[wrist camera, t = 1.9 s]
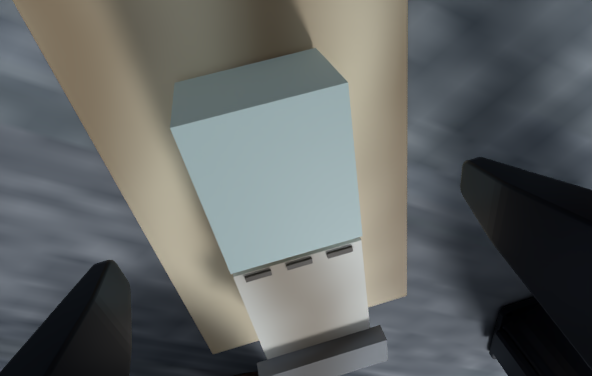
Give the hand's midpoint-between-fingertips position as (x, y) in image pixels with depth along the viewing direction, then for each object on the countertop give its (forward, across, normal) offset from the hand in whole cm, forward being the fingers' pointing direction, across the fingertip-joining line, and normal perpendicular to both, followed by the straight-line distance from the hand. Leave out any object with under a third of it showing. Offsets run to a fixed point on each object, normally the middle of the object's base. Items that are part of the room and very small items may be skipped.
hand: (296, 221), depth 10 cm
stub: (+7, 0, +1) cm, 7 cm away
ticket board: (+7, 0, +3) cm, 7 cm away
